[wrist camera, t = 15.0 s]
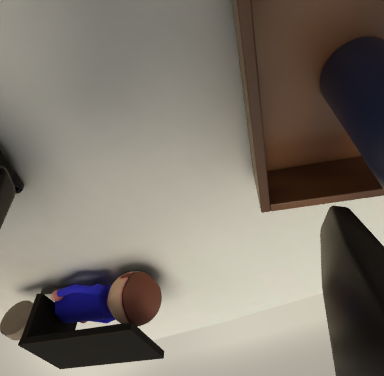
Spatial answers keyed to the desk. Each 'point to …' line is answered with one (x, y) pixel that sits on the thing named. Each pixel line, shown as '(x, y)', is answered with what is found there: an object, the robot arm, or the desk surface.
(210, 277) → the desk surface
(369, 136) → the can
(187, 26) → the desk surface
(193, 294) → the desk surface
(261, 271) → the desk surface
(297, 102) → the desk bin
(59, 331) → the figurine character
